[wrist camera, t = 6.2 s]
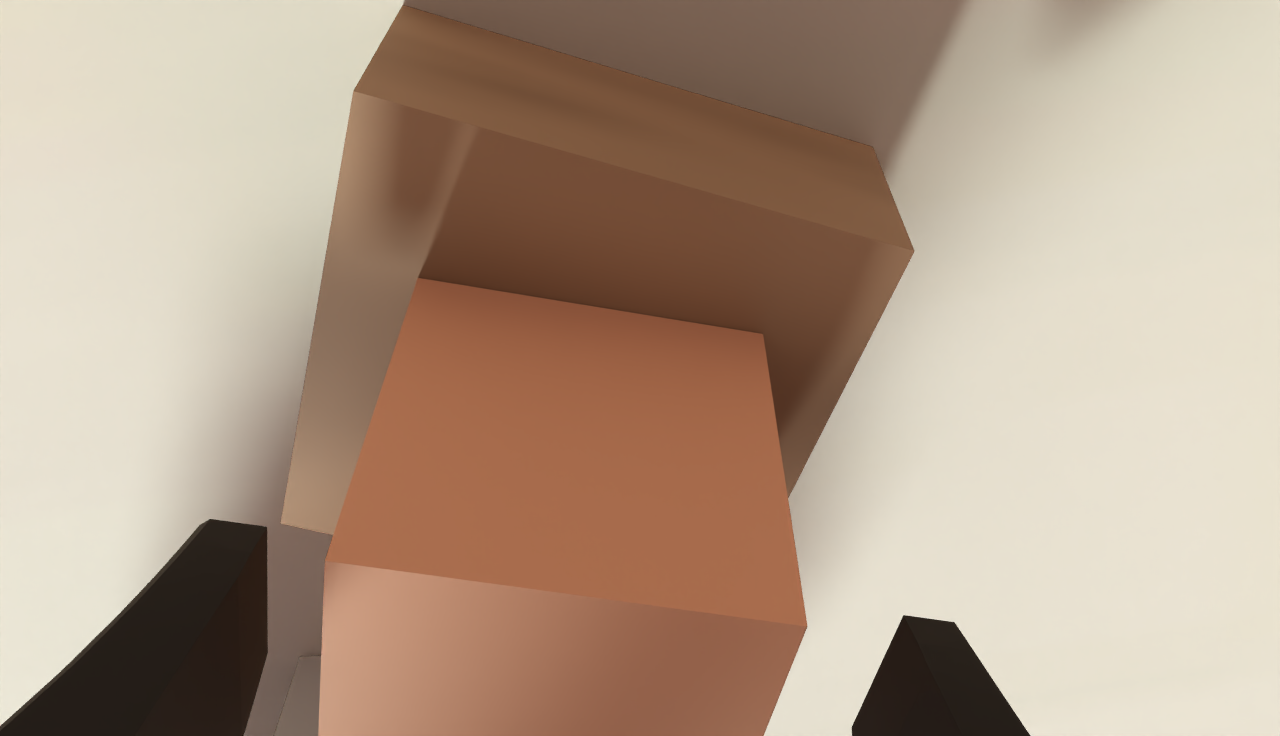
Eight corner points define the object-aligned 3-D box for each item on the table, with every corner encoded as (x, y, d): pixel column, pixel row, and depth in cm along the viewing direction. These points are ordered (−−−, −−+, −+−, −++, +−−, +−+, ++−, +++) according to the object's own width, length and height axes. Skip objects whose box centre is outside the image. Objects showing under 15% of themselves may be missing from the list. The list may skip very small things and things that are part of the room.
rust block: (690, 574, 17) (704, 884, 13) (395, 533, 17) (314, 840, 13) (763, 333, 15) (807, 626, 11) (417, 277, 14) (325, 560, 10)
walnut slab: (714, 477, 21) (725, 621, 18) (334, 385, 20) (280, 523, 17) (869, 137, 17) (914, 251, 14) (407, -3, 16) (353, 91, 13)
